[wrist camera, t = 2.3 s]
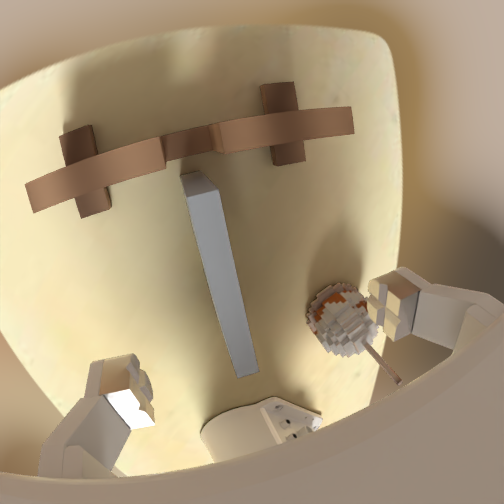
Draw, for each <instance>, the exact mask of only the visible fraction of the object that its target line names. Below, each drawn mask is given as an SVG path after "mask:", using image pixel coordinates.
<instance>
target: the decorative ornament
mask: <svg viewBox="0 0 504 504" xmlns="http://www.w3.org/2000/svg"><path fill="white" fill-rule="evenodd" d="M316 297H317V299H316V300H314V301H313V302H312V303H310V304H311V306H312V307H310V308H309V309H308V310H309V311H310V312H309V313H307V314H306V315H307V316H308V318H309V319H310V320H308V321H307V322H306V323H307V324H308V326H309V327H310V329H311V330H312V332H313V333H314V334H315V335H316V337H317V338H318V340H319V341H320V343H321V344H322V345H323V347H324V348H325V349H326V351H327V352H330V351H332V352H333V353H334V355H338V354H340V355H341V356H342V357H344V356H345V355H346V356H347V357H348V358H349V357H350V356H351V355H353V354H354V353H356V354H358V355H359V354H360V353H361V352H363V351H364V350H365V349H366V350H367V351H368V352H369V353H370V354H371V355H372V357H373V358H374V359H375V360H376V361H377V362H378V363H379V365H380V366H381V367H382V368H383V369H384V370H385V371H386V373H388V375H389V376H390V377H391V378H392V379H393V380H394V382H395V383H396V384H397V385H398V386H399V385H400V384H402V383H403V382H402V380H401V379H400V378H399V376H398V375H397V374H396V373H395V372H394V371H393V370H392V369H391V368H390V367H389V366H388V364H387V363H386V362H385V361H384V360H383V359H382V358H381V357H380V355H379V354H378V353H377V352H376V351H375V350H374V349H373V348H372V347H371V346H370V345H372V344H373V343H372V342H373V338H375V337H376V336H377V333H378V331H377V329H378V328H379V326H378V325H377V324H375V323H374V322H373V321H372V319H371V318H370V316H369V314H368V310H367V300H368V299H369V298H368V297H366V298H364V297H363V295H362V294H361V293H359V292H358V290H357V288H356V287H355V286H354V287H353V288H352V286H351V285H350V284H349V283H348V284H347V285H346V284H345V283H343V284H342V285H341V284H340V283H337V284H336V285H335V286H333V287H332V286H331V285H329V286H328V287H326V288H325V289H324V290H322V291H321V292H320V293H318V294H317V295H316Z"/></svg>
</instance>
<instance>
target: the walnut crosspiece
mask: <svg viewBox="0 0 504 504" xmlns="http://www.w3.org/2000/svg"><path fill="white" fill-rule="evenodd" d="M260 90H261V95H262V101H263V107H264V112H265V115H259V116H252V117H246V118H240V119H234V120H229V121H224V122H219V123H215V124H211V125H206V126H202V127H197V128H193V129H188V130H184V131H180V132H176V133H172V134H168V135H164V136H158V137H154V138H150V139H147V140H143V141H140V142H136V143H133V144H130V145H126V146H123V147H120V148H117V149H114V150H111V151H108V152H105V153H102V154H99V155H98V152H97V148H96V144H95V139H94V135H93V130H92V125H87V126H84V127H81V128H79V129H76V130H73V131H71V132H68V133H66V134H63V135H61V136H59V138H60V143H61V148H62V152H63V156H64V160H65V164H66V167H64V168H61V169H59V170H56V171H54V172H51V173H49V174H47V175H44V176H42V177H40V178H37V179H35V180H33V181H31V182H28V183H26V184H25V187H26V190H27V194H28V197H29V201H30V204H31V207H32V210H33V213H36V212H39V211H41V210H43V209H46V208H48V207H51V206H54V205H56V204H59V203H61V202H64V201H67V200H69V199H72V198H75V201H76V204H77V207H78V210H79V213H80V217H81V219H82V218H85V217H88V216H91V215H94V214H97V213H100V212H103V211H106V210H109V209H110V208H111V207H112V205H111V201H110V198H109V194H108V191H107V186H110V185H113V184H116V183H119V182H122V181H125V180H129V179H132V178H135V177H139V176H142V175H145V174H149V173H152V172H156V171H160V170H163V169H166V162H167V161H171V160H175V159H178V158H182V157H186V156H191V155H195V154H199V153H203V152H208V151H212V150H213V151H216V152H219V153H222V154H230V153H234V152H239V151H244V150H249V149H255V148H260V147H265V146H270V148H271V154H272V161H273V165H275V166H282V165H287V164H292V163H298V162H303V161H306V158H305V150H304V143H303V140H309V139H316V138H324V137H332V136H341V135H350V134H354V125H353V117H352V110H351V107H333V108H319V109H308V110H298V104H297V98H296V92H295V86H294V82H283V83H272V84H263V85H261V86H260Z"/></svg>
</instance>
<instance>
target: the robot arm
mask: <svg viewBox="0 0 504 504" xmlns="http://www.w3.org/2000/svg"><path fill="white" fill-rule="evenodd" d="M368 291H369V293H370V294H371V295H370V297H369V299H368V300H367V310H368V314H369V316H370V318H371V319H372V321H373V322H374V323H375V324H377V325H381V326H383V332H384V333H385V334H386V335H387V336H388V337H390V339H391V340H392V341H393V342H394V341H396V340H398V339H400V338H402V337H404V336H406V335H408V334H410V333H412V334H413V335H416V336H419V337H421V338H424V339H426V340H429V341H432V342H434V343H437V344H440V345H442V346H445V347H448V348H450V349H453V353H452V355H451V356H450V357H448V358H447V359H446V360H444V361H443V362H441V363H440V364H438V365H437V366H435V367H434V368H432V369H431V370H429V371H428V372H427V373H425V374H423V375H422V376H420V377H419V378H417V379H416V380H414V381H412V382H411V383H409V384H407V385H406V386H404V387H402V388H401V389H399V390H397V391H396V392H394V393H392V394H390V395H388V396H387V397H385V398H383V399H381V400H379V401H377V402H376V403H374V404H372V405H370V406H368V407H366V408H364V409H362V410H360V411H358V412H356V413H354V414H352V415H350V416H348V417H345V418H343V419H341V420H339V421H337V422H335V423H332V424H330V425H328V426H325V427H323V428H321V429H318V428H319V426H320V425H321V423H322V420H323V419H322V417H321V415H319V414H316V413H314V412H311V411H309V410H306V409H304V408H301V407H299V406H297V405H294V404H292V403H290V402H287V401H285V400H283V399H280V398H278V397H270V398H268V399H265V400H263V401H261V402H259V403H257V404H254V405H249V406H244V407H239V408H236V409H232V410H229V411H227V412H224V413H222V414H220V415H218V416H216V417H215V418H213V419H212V420H210V421H209V422H208V423H207V424H206V425H205V426H204V428H203V429H202V431H201V439H202V441H203V443H204V444H205V446H206V448H207V449H208V451H209V453H210V455H211V457H212V459H213V461H214V463H212V464H208V465H203V466H198V467H193V468H188V469H183V470H177V471H171V472H164V473H157V474H149V475H140V476H130V477H117V476H116V475H115V474H113V473H112V472H111V470H112V468H113V466H114V464H115V462H116V460H117V458H118V456H119V454H120V452H121V450H122V448H123V446H124V444H125V442H126V440H127V439H128V437H129V435H130V433H131V429H135V428H140V427H145V426H150V425H155V421H154V408H153V407H152V405H151V404H150V402H151V400H152V399H153V391H152V387H151V383H150V380H149V378H148V376H147V374H146V372H145V371H143V370H141V369H140V362H139V360H138V359H137V357H136V355H135V354H133V353H132V354H128V355H123V356H118V357H112V358H107V359H103V360H98V361H93V362H92V363H91V364H90V368H89V373H88V379H87V384H86V390H85V396H84V398H81V399H80V400H79V401H78V402H77V403H76V404H75V406H74V407H73V408H72V409H71V410H70V412H69V413H68V414H67V415H66V416H65V418H64V419H63V420H62V421H61V423H60V424H59V425H58V426H57V427H56V429H55V430H54V431H53V432H52V434H51V435H50V436H49V437H48V439H47V440H46V441H45V442H44V444H43V445H42V449H41V455H40V462H39V469H38V477H36V476H35V477H34V476H25V475H18V474H11V473H5V472H0V504H504V304H502V303H501V302H499V301H498V300H497V299H495V298H494V297H492V296H491V295H489V294H487V293H482V292H477V291H471V290H466V289H461V288H456V287H450V286H444V285H439V284H433V285H431V284H430V283H429V282H427V281H425V280H424V279H423V278H421V277H420V276H418V275H417V274H415V273H414V272H412V271H411V270H409V269H408V268H406V267H400V268H398V269H395V270H393V271H391V272H389V273H387V274H384V275H382V276H379V277H377V278H374V279H372V280H370V281H369V284H368ZM317 429H318V430H317Z"/></svg>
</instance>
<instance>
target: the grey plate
mask: <svg viewBox="0 0 504 504" xmlns="http://www.w3.org/2000/svg"><path fill="white" fill-rule="evenodd" d="M180 178H181V183H182V187H183V191H184V195H185V200H186V204H187V208H188V212H189V216H190V220H191V224H192V228H193V232H194V236H195V239H196V243H197V246H198V249H199V253H200V256H201V260H202V263H203V267H204V273H205V276H206V280H207V284H208V287H209V291H210V294H211V298H212V301H213V305H214V308H215V311H216V315H217V318H218V321H219V324H220V327H221V330H222V334H223V337H224V340H225V343H226V346H227V349H228V352H229V355H230V358H231V361H232V364H233V367H234V370H235V372H236V375H237V378H241V377H244V376H247V375H250V374H254V373H257V372H259V368H258V364H257V360H256V355H255V351H254V347H253V343H252V338H251V334H250V330H249V325H248V321H247V317H246V312H245V308H244V304H243V299H242V295H241V290H240V286H239V281H238V277H237V273H236V268H235V263H234V259H233V254H232V250H231V245H230V241H229V236H228V231H227V227H226V222H225V217H224V213H223V208H222V203H221V198H220V193H219V189H218V188H217V187H216V186H215V185H214V184H213V183H212V182H211V181H210V180H209V179H208V178H207V177H206V176H205V174H204V173H203V172H202V171H197V172H193V173H189V174H185V175H181V176H180Z"/></svg>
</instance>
